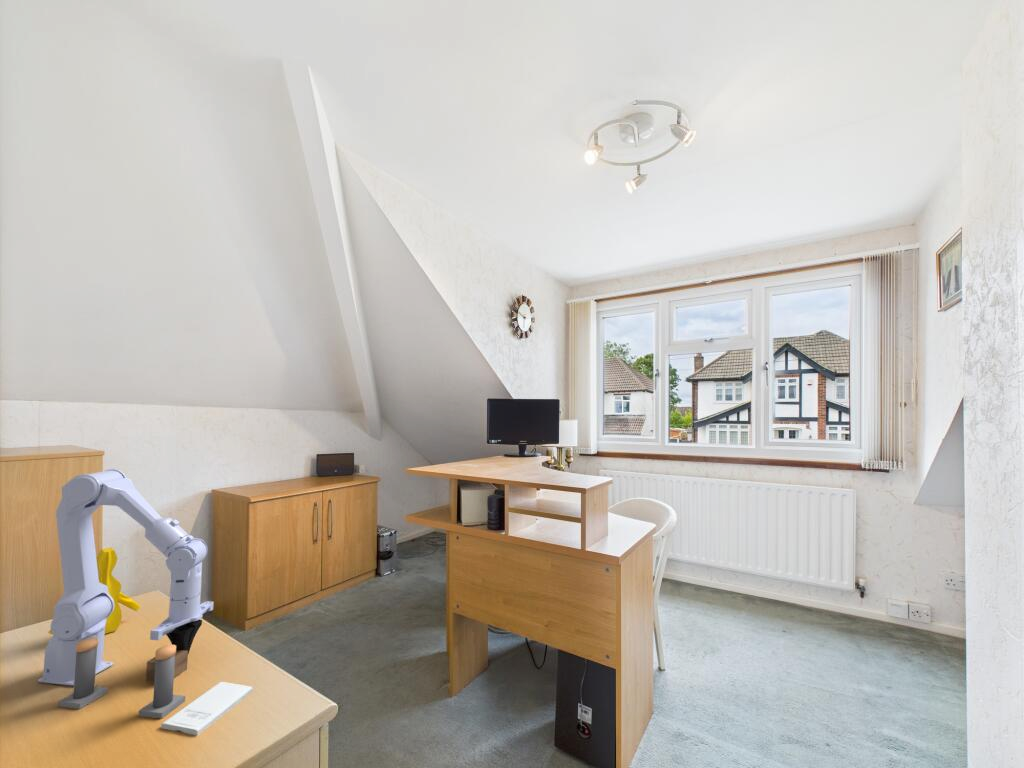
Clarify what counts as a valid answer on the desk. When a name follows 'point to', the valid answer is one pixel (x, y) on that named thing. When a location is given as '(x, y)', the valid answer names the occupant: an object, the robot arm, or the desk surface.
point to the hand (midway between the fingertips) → (181, 656)
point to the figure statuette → (112, 588)
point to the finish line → (89, 692)
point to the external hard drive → (207, 708)
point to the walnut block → (179, 666)
